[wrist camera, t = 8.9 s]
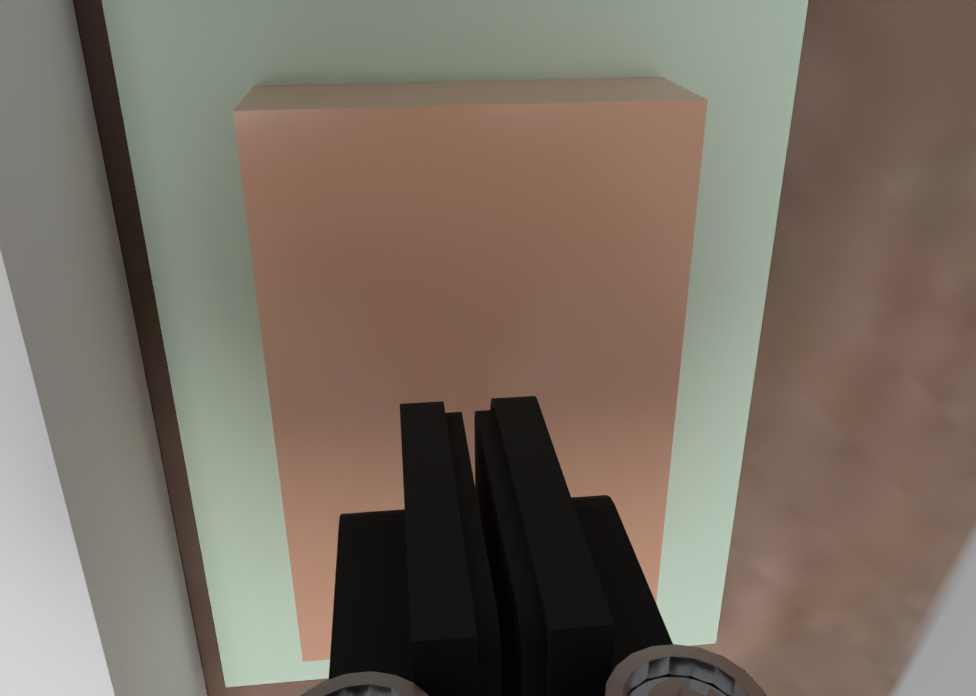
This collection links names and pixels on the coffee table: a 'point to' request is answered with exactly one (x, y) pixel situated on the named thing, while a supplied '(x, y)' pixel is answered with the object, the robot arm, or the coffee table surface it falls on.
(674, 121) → the tile
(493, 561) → the robot arm
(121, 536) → the white flat block
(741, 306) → the mat
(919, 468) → the coffee table surface
